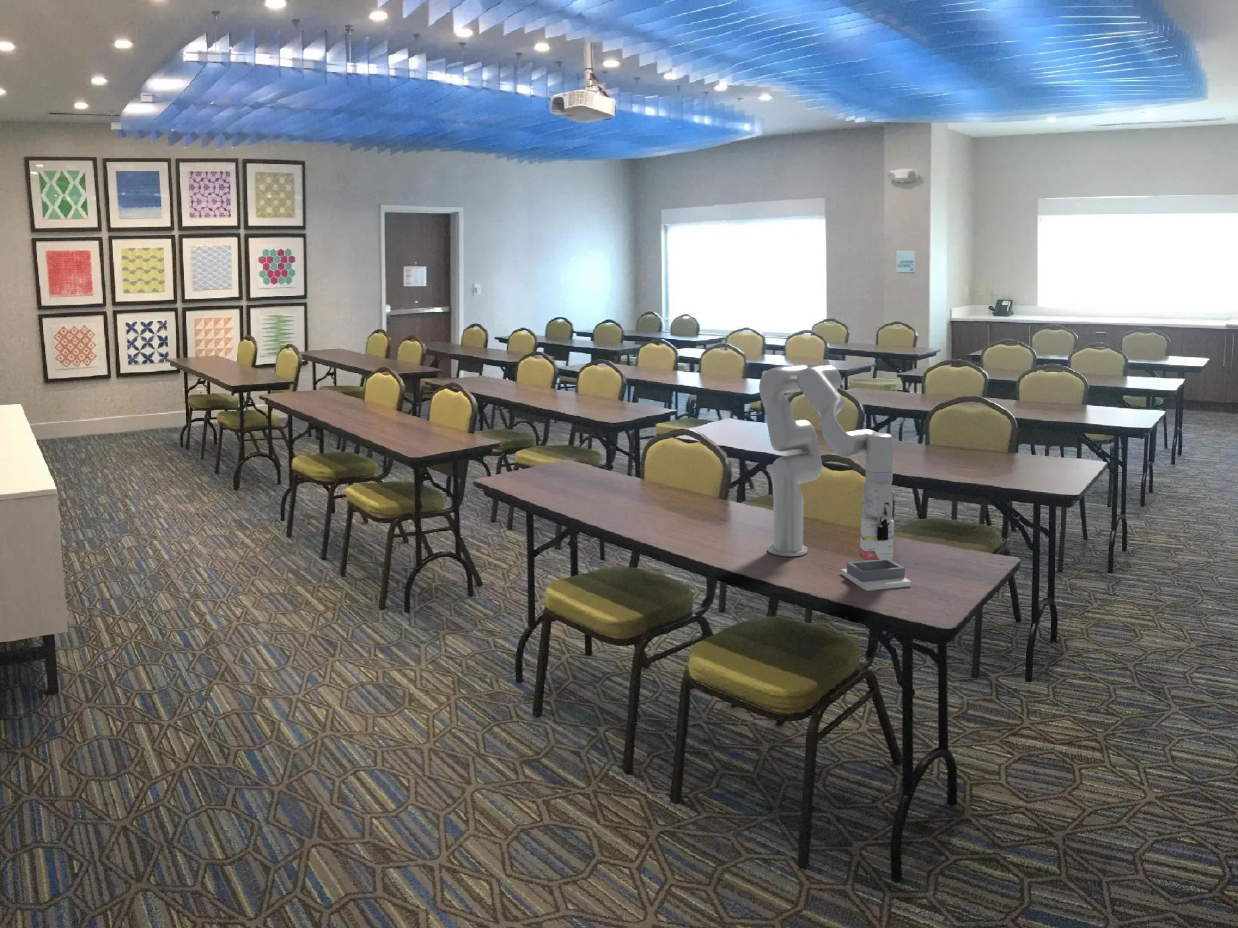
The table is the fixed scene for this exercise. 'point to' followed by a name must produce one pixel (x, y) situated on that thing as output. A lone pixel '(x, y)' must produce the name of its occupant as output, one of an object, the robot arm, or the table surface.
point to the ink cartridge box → (875, 539)
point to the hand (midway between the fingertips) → (877, 536)
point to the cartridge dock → (876, 574)
